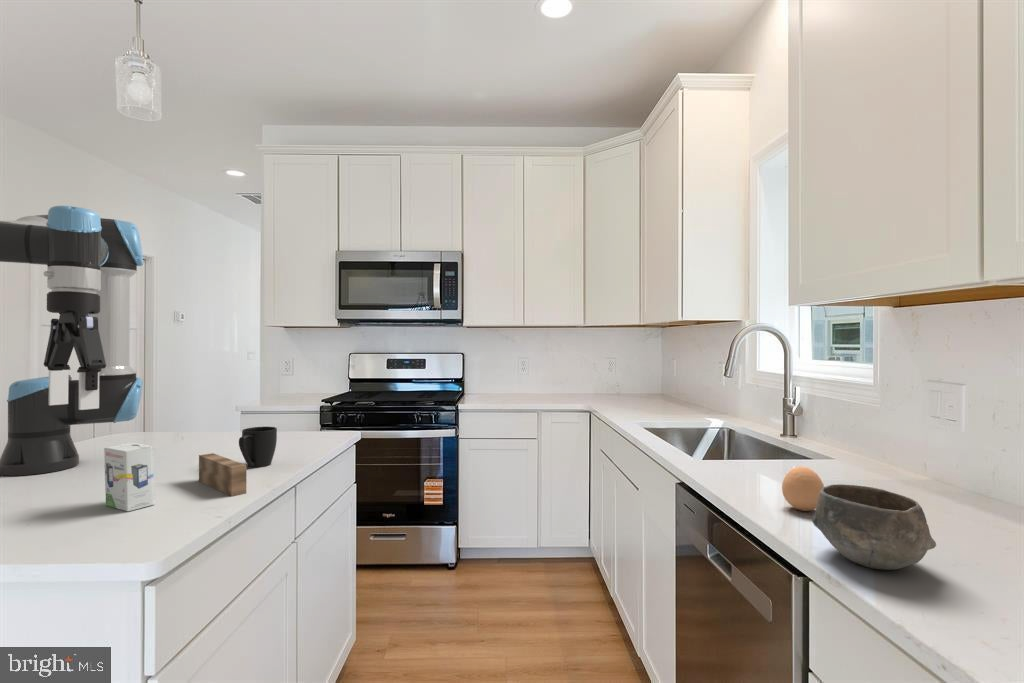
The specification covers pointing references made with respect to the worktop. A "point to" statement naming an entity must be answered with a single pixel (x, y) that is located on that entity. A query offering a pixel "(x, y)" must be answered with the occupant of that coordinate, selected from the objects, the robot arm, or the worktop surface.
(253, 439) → the mug
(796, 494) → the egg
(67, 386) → the robot arm
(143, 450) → the ink box
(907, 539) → the bowl
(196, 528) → the worktop surface
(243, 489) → the wooden block
